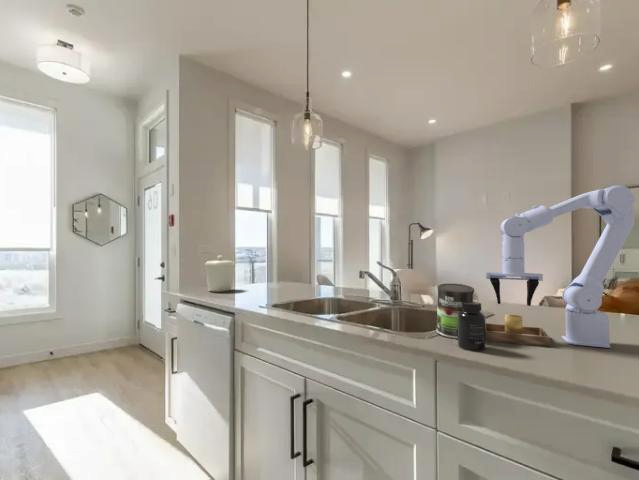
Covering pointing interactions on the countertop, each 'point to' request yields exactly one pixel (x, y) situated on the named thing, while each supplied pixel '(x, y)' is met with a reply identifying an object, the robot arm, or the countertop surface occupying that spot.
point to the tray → (517, 335)
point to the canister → (219, 274)
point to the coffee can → (451, 307)
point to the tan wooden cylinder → (513, 324)
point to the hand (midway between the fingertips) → (513, 304)
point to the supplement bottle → (471, 327)
